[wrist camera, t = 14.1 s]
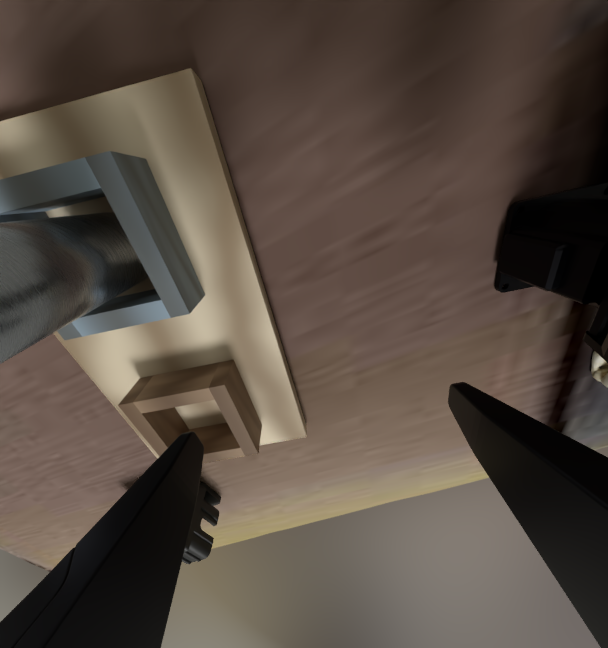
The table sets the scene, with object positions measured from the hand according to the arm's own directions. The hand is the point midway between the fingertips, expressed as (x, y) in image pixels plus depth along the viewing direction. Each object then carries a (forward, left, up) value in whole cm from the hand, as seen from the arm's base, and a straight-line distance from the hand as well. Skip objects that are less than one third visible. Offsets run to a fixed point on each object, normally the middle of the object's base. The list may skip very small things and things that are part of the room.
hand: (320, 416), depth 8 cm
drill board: (+11, +1, -12) cm, 16 cm away
